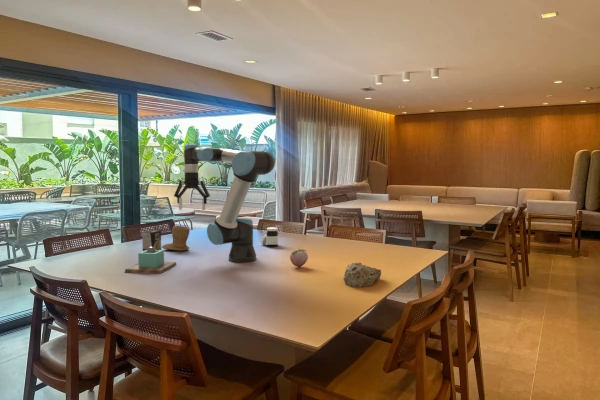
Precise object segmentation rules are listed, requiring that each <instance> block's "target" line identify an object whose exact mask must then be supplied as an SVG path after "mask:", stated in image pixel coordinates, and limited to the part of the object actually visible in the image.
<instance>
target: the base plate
mask: <svg viewBox="0 0 600 400" xmlns="http://www.w3.org/2000/svg"><path fill="white" fill-rule="evenodd" d="M176 265H177V262H176V261H164V264H162V265H160V266H159V267H157V268H146V267H139V262H138V263H136V264H134V265H131V266H129V267H127V268H125V269H124V272H125V273H134V274H135V273H138V274H139V273H140V274H163V273H164V272H165V271H168V270H169V269H171V268H172V267H173V268H174V267H175V266H176Z"/></svg>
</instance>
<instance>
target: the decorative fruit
mask: <svg viewBox="0 0 600 400" xmlns="http://www.w3.org/2000/svg"><path fill="white" fill-rule="evenodd" d="M307 252H308V251H307V250H306V249H302V248H301V249H296V250H293V251H292V252H291V253H290V256H289V259H290V262H291V264H292V265H293V266H295V267H297V268H301V267H303V266H304V265H305V264H306V263H307V261H308V259H309V256H308V253H307Z"/></svg>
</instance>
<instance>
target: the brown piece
mask: <svg viewBox="0 0 600 400" xmlns="http://www.w3.org/2000/svg"><path fill="white" fill-rule="evenodd" d="M171 234H172V235H171V236H172V237H171V238H172V243H166V244H163V245H161V249H164V250H168V251H169V250H170V251H180V252H181V251H187V250H189V249H190V246H188V245H187V241H188V238H189V235H190V227H189V226H183V225H182V226H181V225H174V226H172V230H171Z"/></svg>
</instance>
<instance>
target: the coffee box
mask: <svg viewBox="0 0 600 400" xmlns="http://www.w3.org/2000/svg"><path fill="white" fill-rule="evenodd" d="M141 236H142V237H141V238H142V252H143V251H145V250H147V249H148V248H149V247H154V248H155V250H162V230H161V229H160V230H159V229H158V230H157V229H154V230H153V229H151V230H146V231H142V232H141Z"/></svg>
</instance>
